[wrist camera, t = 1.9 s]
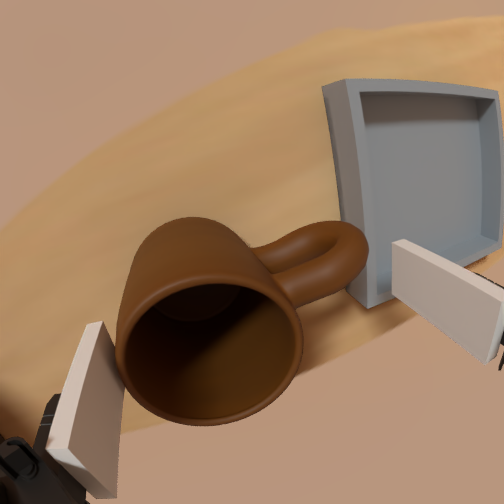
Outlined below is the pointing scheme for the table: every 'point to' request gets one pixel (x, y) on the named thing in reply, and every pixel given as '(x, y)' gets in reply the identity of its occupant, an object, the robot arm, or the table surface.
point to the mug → (224, 315)
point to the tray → (416, 171)
